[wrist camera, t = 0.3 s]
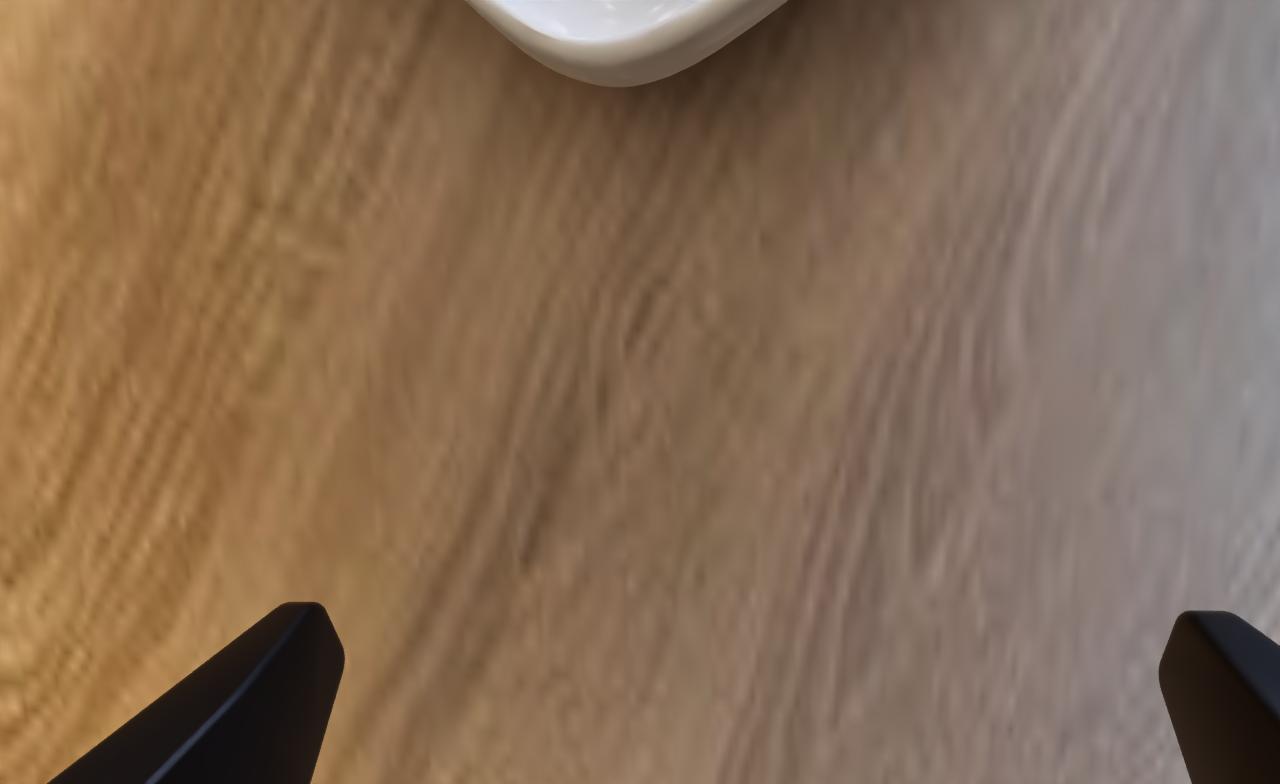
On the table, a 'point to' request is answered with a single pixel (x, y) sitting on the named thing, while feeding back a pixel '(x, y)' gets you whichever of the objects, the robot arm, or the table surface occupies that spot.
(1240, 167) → the table surface
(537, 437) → the table surface
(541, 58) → the bowl
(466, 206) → the table surface
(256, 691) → the robot arm
